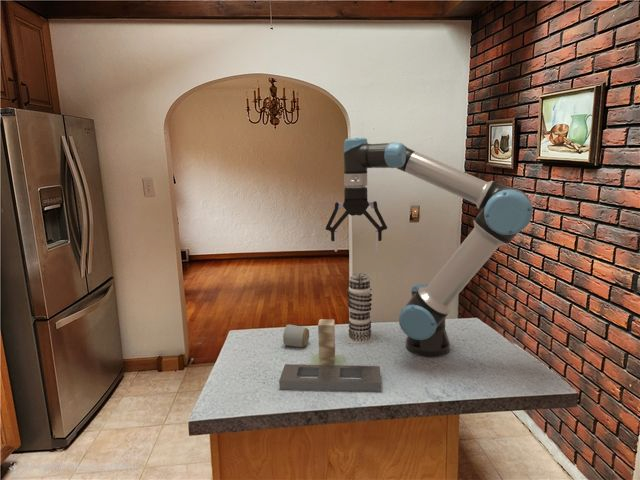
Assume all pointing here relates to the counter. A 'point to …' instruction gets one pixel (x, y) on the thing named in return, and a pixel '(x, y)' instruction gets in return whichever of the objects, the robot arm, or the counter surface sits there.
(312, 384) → the grey flat slotted plate
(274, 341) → the counter surface
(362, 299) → the decorative candle
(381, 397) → the counter surface
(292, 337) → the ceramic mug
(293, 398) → the counter surface
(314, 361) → the mat
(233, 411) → the counter surface
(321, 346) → the peg
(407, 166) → the robot arm
